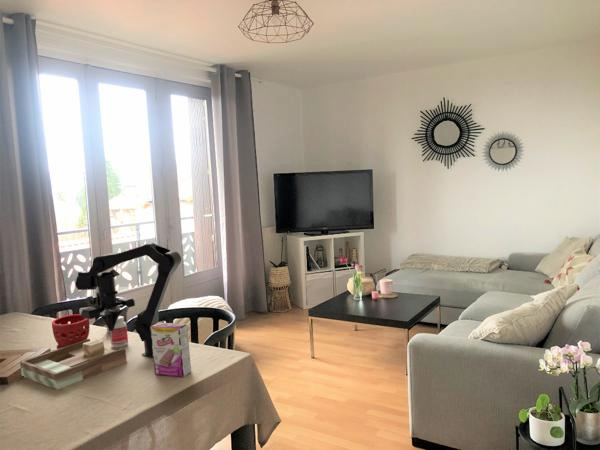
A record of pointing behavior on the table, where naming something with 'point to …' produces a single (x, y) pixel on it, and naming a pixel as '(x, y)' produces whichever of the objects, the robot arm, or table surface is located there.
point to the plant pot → (70, 330)
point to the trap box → (69, 365)
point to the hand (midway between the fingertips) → (111, 330)
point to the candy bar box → (170, 349)
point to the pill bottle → (119, 333)
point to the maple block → (93, 348)
